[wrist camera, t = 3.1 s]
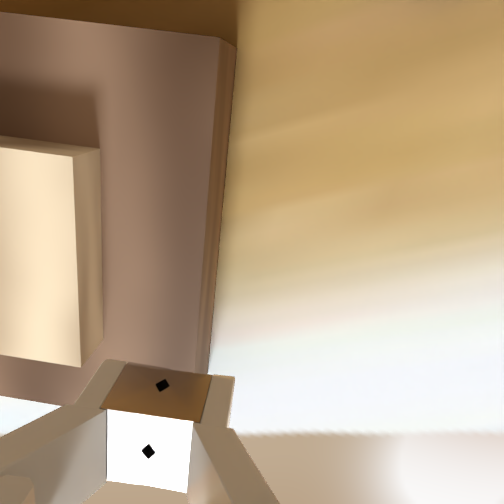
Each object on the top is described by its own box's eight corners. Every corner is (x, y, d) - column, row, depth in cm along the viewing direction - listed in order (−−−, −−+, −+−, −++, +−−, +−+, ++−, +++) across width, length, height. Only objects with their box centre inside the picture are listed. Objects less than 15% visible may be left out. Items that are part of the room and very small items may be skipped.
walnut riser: (236, 48, 17) (220, 37, 14) (207, 372, 23) (189, 427, 19) (-90, 10, 18) (-192, -11, 14) (-39, 333, 24) (-101, 378, 20)
